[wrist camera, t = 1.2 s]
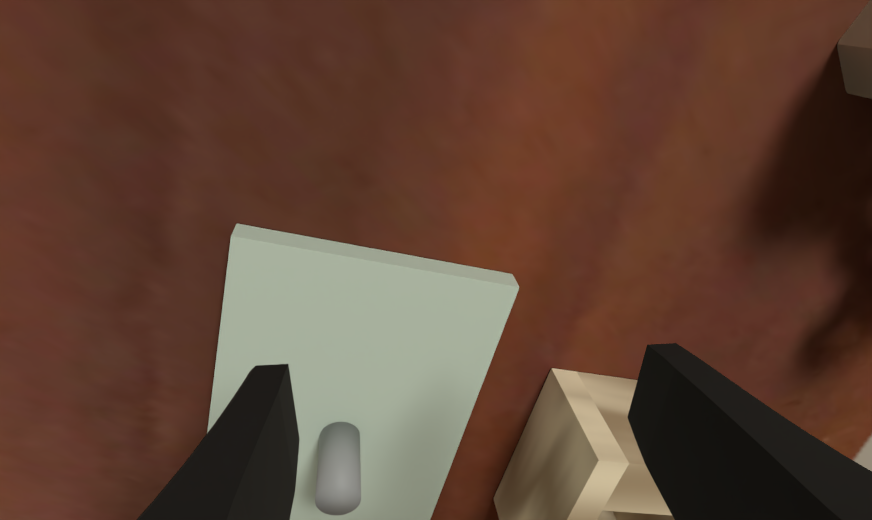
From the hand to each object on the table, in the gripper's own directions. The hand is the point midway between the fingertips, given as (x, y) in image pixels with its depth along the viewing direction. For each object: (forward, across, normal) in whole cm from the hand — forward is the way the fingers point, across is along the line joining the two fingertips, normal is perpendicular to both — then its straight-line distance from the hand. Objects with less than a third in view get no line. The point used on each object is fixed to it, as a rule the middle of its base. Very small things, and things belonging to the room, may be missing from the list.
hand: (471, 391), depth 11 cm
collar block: (+9, -7, +12) cm, 16 cm away
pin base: (+8, +4, +9) cm, 13 cm away
